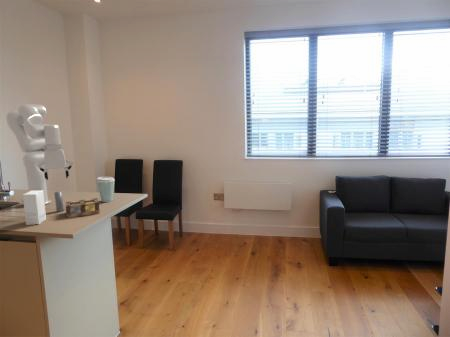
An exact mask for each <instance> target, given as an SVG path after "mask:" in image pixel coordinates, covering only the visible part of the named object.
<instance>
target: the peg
mask: <svg viewBox="0 0 450 337" xmlns="http://www.w3.org/2000/svg"><path fill="white" fill-rule="evenodd" d="M54 200H55V202H54V203H55V211H56V213H62V212H65V209H64V208H65V207H64V201H63V200H64V199H63V191H62V190H61V191H59V190H58V191H55V192H54Z"/></svg>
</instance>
